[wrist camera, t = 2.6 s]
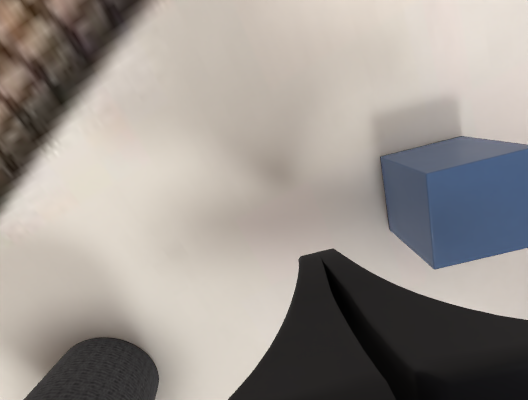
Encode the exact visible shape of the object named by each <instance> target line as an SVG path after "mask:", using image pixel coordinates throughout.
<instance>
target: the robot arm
mask: <svg viewBox="0 0 528 400" xmlns="http://www.w3.org/2000/svg"><path fill="white" fill-rule="evenodd" d="M228 400H528V320H523V319H517V318H511V317H505V316H499V315H494V314H489V313H485V312H481V311H476V310H472V309H467V308H463V307H460V306H456V305H452V304H449V303H445V302H442V301H439V300H436V299H432V298H429V297H426V296H423V295H420V294H418V293H415V292H412V291H410V290H407V289H405V288H402V287H400V286H398V285H395V284H393V283H391V282H389V281H387V280H385V279H383V278H381V277H379V276H377V275H375V274H373V273H371V272H369V271H368V270H366V269H364V268H363V267H361V266H359V265H358V264H356V263H354V262H353V261H351V260H350V259H348V258H347V257H345V256H344V255H342V254H341V253H339V252H338V251H336V250H335V249H329V250H325V251H320V252H316V253H312V254H308V255H304V256H301V257H300V258H299V272H298V279H297V283H296V288H295V292H294V295H293V298H292V301H291V305H290V307H289V310H288V312H287V315H286V317H285V319H284V322H283V324H282V326H281V328H280V330H279V332H278V334H277V335H276V337H275V339H274V341H273V343H272V344H271V346H270V348H269V349H268V351H267V352H266V353H265V355H264V356H263V358H262V359H261V361H260V362H259V364H258V365H257V366H256V368H255V369H254V371H253V372H252V373H251V374H250V375H249V377H248V378H247V379H246V380H245V381H244V382H243V383H242V385H241V386H240V387H239V388H238V389H237V390H236V391H235V393H234V394H233V395H232V396H231V397H230V398H229V399H228Z"/></svg>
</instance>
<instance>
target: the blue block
mask: <svg viewBox="0 0 528 400" xmlns="http://www.w3.org/2000/svg"><path fill="white" fill-rule="evenodd" d="M380 158H381V166H382V174H383V181H384V189H385V197H386V204H387V212H388V219H389V227H390V231H391V232H393V233H394V234H395V235H396V236H397V237H398V238H399V239H401V240H402V241H403V242H404V243H405V244H406V245H407V246H408V247H410V248H411V249H412V250H413V251H414V252H415V253H416V254H417V255H419V256H420V257H421V258H422V259H423V260H424V261H425V262H426V263H428V264H429V265H430V266H431V267H432V268H433V269H439V268H443V267H447V266H452V265H456V264H460V263H464V262H469V261H473V260H477V259H481V258H486V257H490V256H494V255H498V254H503V253H507V252H511V251H515V250H520V249H524V248H528V145H525V144H518V143H510V142H502V141H495V140H487V139H479V138H472V137H464V136H461V137H457V138H453V139H449V140H445V141H441V142H437V143H433V144H429V145H425V146H421V147H417V148H413V149H409V150H405V151H401V152H397V153H393V154H389V155H385V156H381V157H380Z"/></svg>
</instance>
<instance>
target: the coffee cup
mask: <svg viewBox="0 0 528 400" xmlns="http://www.w3.org/2000/svg"><path fill="white" fill-rule="evenodd" d="M158 383H159V377H158V372H157V369H156V366H155V364H154V363H153V361H152V360H151V358H150V357H149V356H148V355H147V354H146V353H145V352H144V351H142V350H141V349H139V348H138V347H136V346H134V345H132V344H130V343H128V342H125V341H122V340H118V339H112V338H95V339H90V340H86V341H83V342H81V343H79V344H77V345H75V346H73V347H72V348H71V349H70V350H69V351H68V352H67V353H66V354H65V355H64V356H63V357H62V358H61V359H60V360H59V361H58V362H57V364H56V365H55V366H54V367H53V368H52V369H51V370H50V371H49V372H48V373H47V375H46V376H45V377H44V378H43V379H42V380H41V381H40V382H39V383H38V384H37V386H36V387H35V388H34V389H33V390H32V391H31V392H30V393H29V394H28V395H27V397H26V398H25V399H24V400H155V396H156V392H157V388H158Z"/></svg>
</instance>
